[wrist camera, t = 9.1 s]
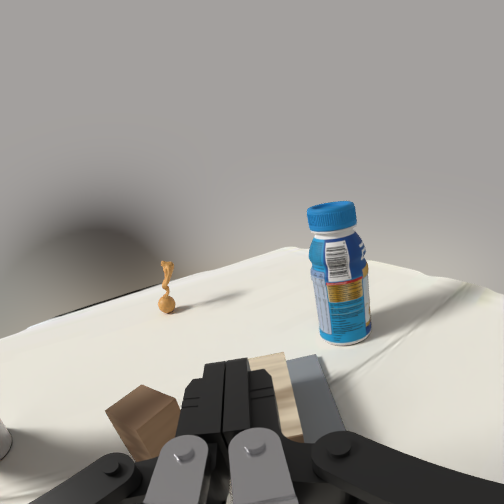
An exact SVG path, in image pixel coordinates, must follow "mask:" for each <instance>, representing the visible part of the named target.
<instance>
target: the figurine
mask: <svg viewBox="0 0 504 504" xmlns="http://www.w3.org/2000/svg"><path fill="white" fill-rule="evenodd" d="M161 263H162V264H161V266H163V270H164V273H165V279H164V281H163V283H162V288H163V289H165V290H166V291H167V292H166V294H164V295H163V297H161V298H160V300H159V302H158V306H159V309H160V310H161V311H162V312H164V313H170V312H172V311H173V310H174V308H175V301H174V299H173V298H172V297H170V296H168V295H169V287H168V286H167V285H168V283H169V281H170V278H171V274H172V272H173V269H174V264H173V263H172V262H165V261H162V262H161Z"/></svg>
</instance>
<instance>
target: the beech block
mask: <svg viewBox="0 0 504 504" xmlns="http://www.w3.org/2000/svg"><path fill="white" fill-rule="evenodd" d="M248 361H249V365H250V369H251V371H253V370H259V369H265V370H266V371H267V372H268V373H269V374H270V375H271V376H272V381H273V386H274V391H275V396H276V401H277V406H278V412H279V418H280V424H281V431H282V434H283V435H284V436H285V437H287V438H288V439H290V440H292V441H295V442H300V443H304V438H303V433H302V428H301V424H300V419H299V415H298V411H297V406H296V402H295V398H294V393H293V389H292V385H291V380H290V376H289V372H288V368H287V363H286V359H285V355H284V352H281V353H276V354H271V355H266V356H260V357H255V358H250V359H248Z"/></svg>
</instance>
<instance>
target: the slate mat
mask: <svg viewBox="0 0 504 504" xmlns="http://www.w3.org/2000/svg"><path fill="white" fill-rule="evenodd" d="M286 363H287V368H288V372H289V376H290V380H291V385H292V389H293V393H294V398H295V402H296V406H297V411H298V415H299V419H300V424H301V428H302V433H303V438H304V443H315V442H316V441H317V440H318V439H319V438H321V437H322V436H324V435H326V434H328V433H331V432H335V431H346V429H345V427H344V424H343V422H342V419H341V417H340V414H339V411H338V409H337V406H336V404H335V401H334V399H333V396H332V394H331V391H330V388H329V386H328V383H327V381H326V378H325V376H324V373H323V371H322V368H321V366H320V363H319V361H318V358H317V356H316V354H314V355H310V356H305V357H301V358H296V359H292V360H287V361H286Z"/></svg>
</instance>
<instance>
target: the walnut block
mask: <svg viewBox="0 0 504 504" xmlns="http://www.w3.org/2000/svg"><path fill="white" fill-rule="evenodd" d="M180 411H181V410H180V408H179V406H178V403H177V401H176V398H173V397H171V396H168V395H166V394H163V393H161V392H158V391H156V390H154V389H151V388H149V387H146V386H144V385H140V386H139V387H137V388H136V389H135V390H133V391H132V392H130V393H129V394H128V395H126V396H125V397H124V398H122V399H121V400H119V401H118V402H117V403H115V404H114V405H112V406H111V407H109V408H108V409H107V410H105V412H106V414H107V416H108V417H109V419H110V421H111V423H112V424H113V426H114V428H115V429H116V431H117V433H118V434H119V436H120V438H121V439H122V441H123V443H124V444H125V446H126V447H127V449H128V451H129V452H130V454H131V455H132V457H133V458H134V460H135V461H136V462H139V461H144V460H148V459H151V458H155V457H157V456H159V454H160V451H161V449H162V447H163V446H164V445H165V444H166V443H167V442H168V441H170V440H171V439H173V438H175V435H176V430H177V425H178V420H179V416H180Z"/></svg>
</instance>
